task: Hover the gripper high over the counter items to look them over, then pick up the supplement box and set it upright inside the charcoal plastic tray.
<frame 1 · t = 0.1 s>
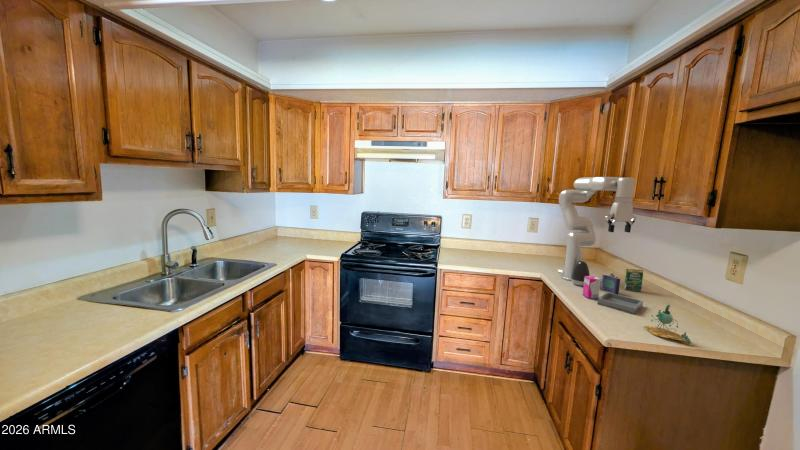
hand: (619, 232, 168), 37 cm above the counter, fingers open, 9 cm apart
coffee box: (632, 290, 186), on the counter
frog figurine: (664, 336, 130), on the counter
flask: (609, 292, 183), on the counter
tray: (619, 305, 162), on the counter
supplement box: (590, 297, 173), on the counter
dark grey domed cylinder: (579, 284, 194), on the counter
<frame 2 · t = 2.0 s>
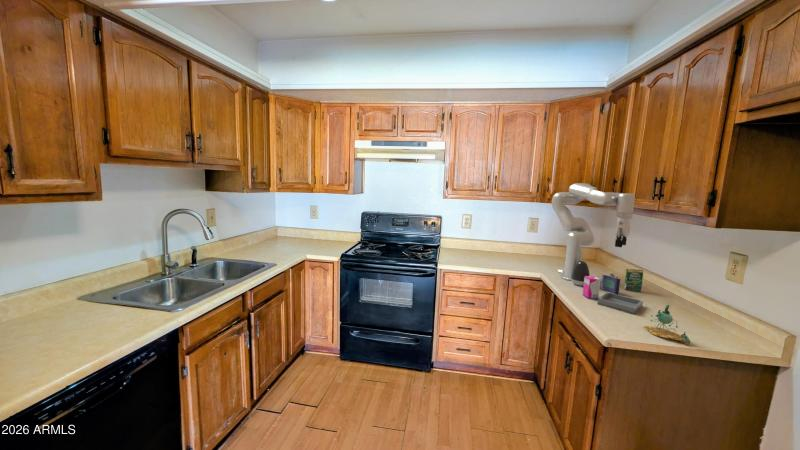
hand: (620, 245, 174), 29 cm above the counter, fingers open, 9 cm apart
nothing on the counter moved.
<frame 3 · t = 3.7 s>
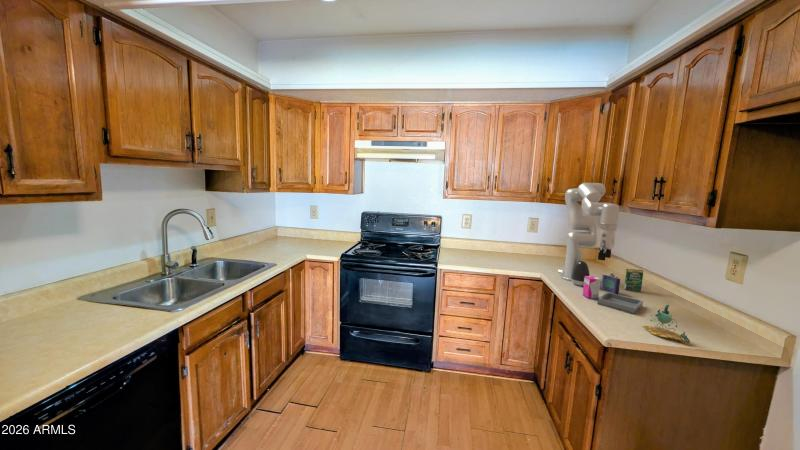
hand: (604, 258, 166), 23 cm above the counter, fingers open, 9 cm apart
nothing on the counter moved.
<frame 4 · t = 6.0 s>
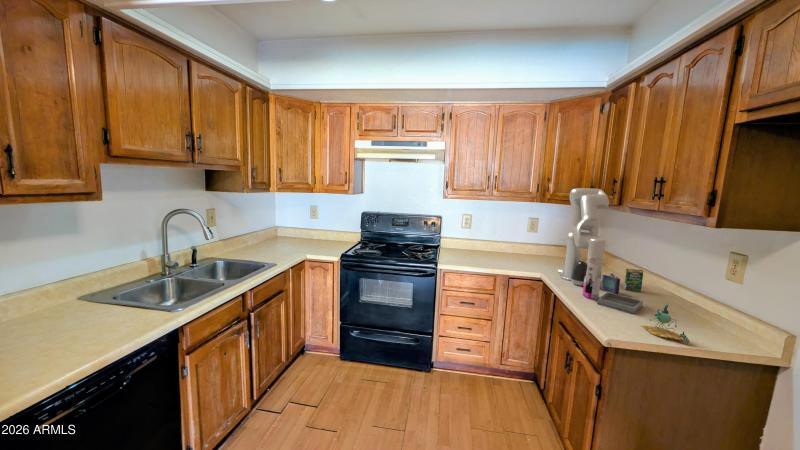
hand: (590, 291, 172), 4 cm above the counter, fingers closed on supplement box, 8 cm apart
supplement box: (590, 297, 172), on the counter, touching gripper
everything else where it was.
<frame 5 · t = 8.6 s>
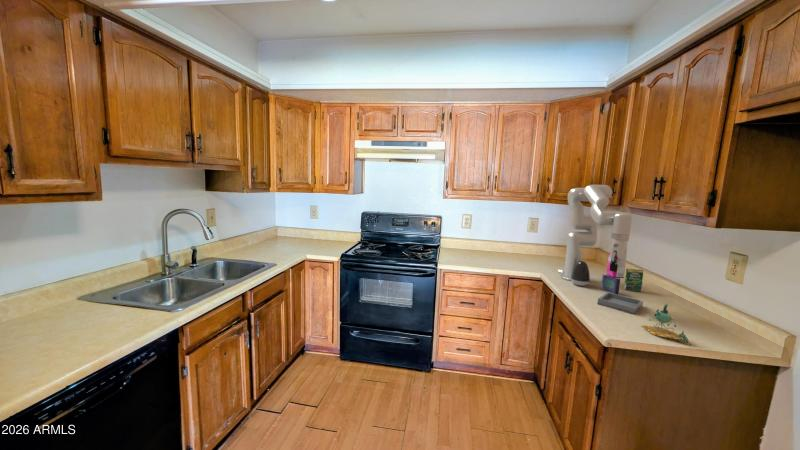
hand: (615, 269, 162), 18 cm above the counter, fingers closed on supplement box, 8 cm apart
supplement box: (614, 276, 163), point 15 cm above the counter, touching gripper
everything else where it was.
when the fingers open (6 cm above the counter, at t = 11.7 s): supplement box drops 2 cm, resting on tray.
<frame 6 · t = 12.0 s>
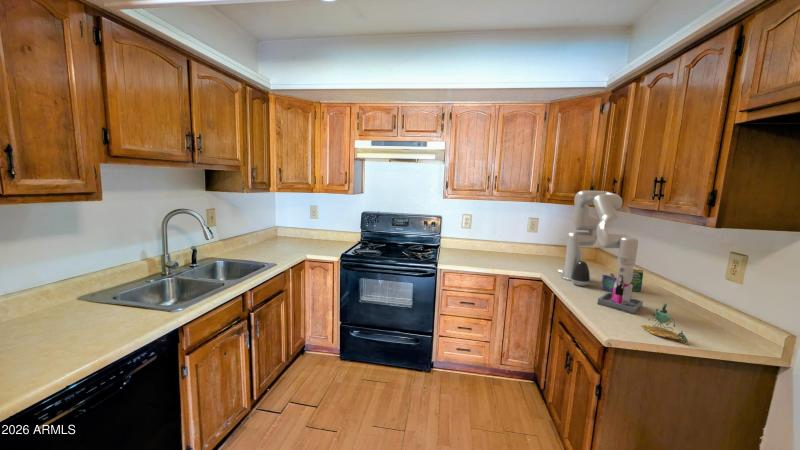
hand: (621, 292, 161), 7 cm above the counter, fingers open, 9 cm apart
supplement box: (619, 303, 162), point 1 cm above the counter, touching gripper, tray
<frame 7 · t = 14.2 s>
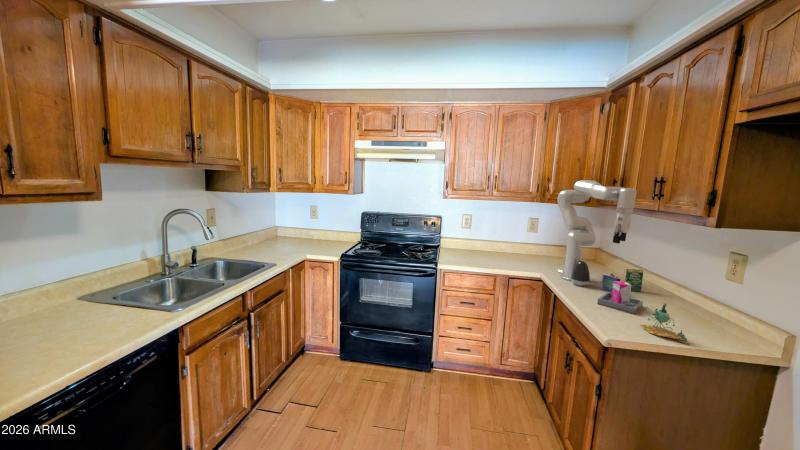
hand: (618, 241, 170), 32 cm above the counter, fingers open, 9 cm apart
supplement box: (619, 304, 162), point 1 cm above the counter, touching tray
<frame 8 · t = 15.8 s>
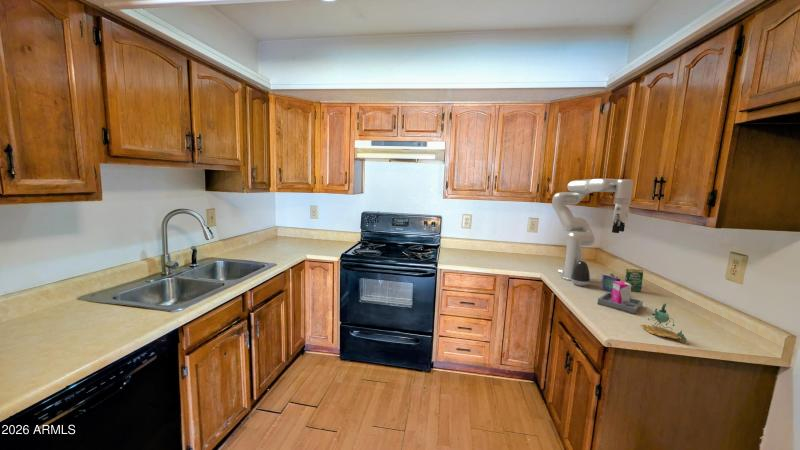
hand: (617, 232, 174), 36 cm above the counter, fingers open, 9 cm apart
at the end: supplement box inside the target area on the tray (0.2 cm from its centre), point 0.6 cm above the tray's base; supplement box tilted 0°; the gripper is holding nothing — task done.
